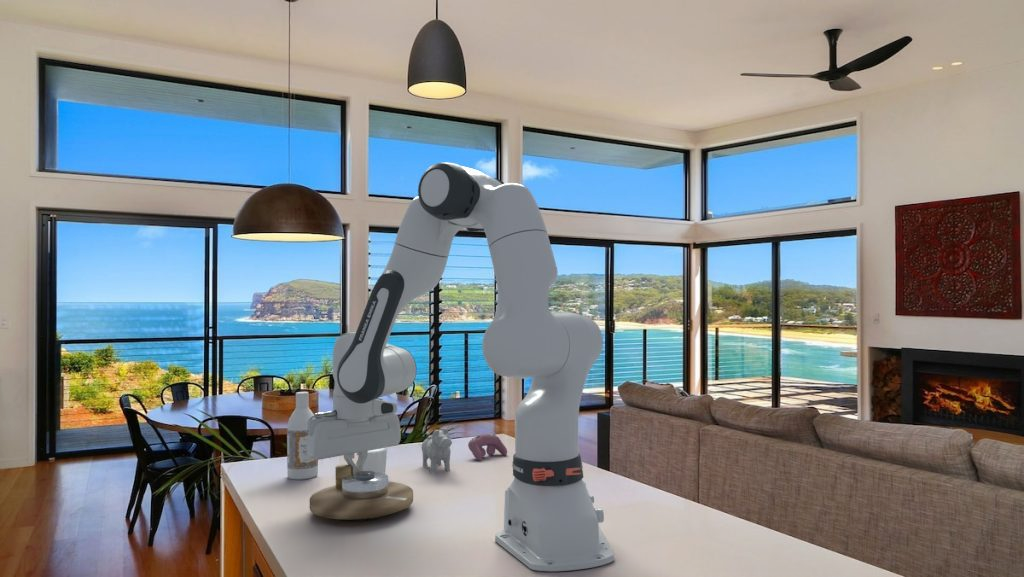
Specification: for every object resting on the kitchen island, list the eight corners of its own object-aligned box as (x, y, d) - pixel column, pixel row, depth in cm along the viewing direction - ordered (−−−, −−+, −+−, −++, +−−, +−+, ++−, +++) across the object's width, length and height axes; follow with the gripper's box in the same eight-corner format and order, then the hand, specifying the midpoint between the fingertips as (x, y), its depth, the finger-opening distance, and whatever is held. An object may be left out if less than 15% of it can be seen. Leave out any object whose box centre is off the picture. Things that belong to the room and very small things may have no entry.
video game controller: (500, 459, 180) (492, 434, 182) (509, 453, 177) (502, 428, 179) (470, 465, 174) (463, 439, 176) (480, 460, 170) (472, 433, 173)
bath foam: (292, 482, 154) (292, 395, 154) (283, 475, 159) (282, 392, 160) (322, 477, 158) (321, 392, 158) (312, 471, 164) (311, 389, 164)
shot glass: (380, 483, 152) (380, 452, 152) (352, 482, 153) (352, 451, 153) (391, 475, 159) (391, 446, 159) (365, 474, 160) (364, 445, 160)
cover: (397, 489, 135) (396, 469, 135) (370, 502, 127) (370, 481, 127) (360, 485, 139) (360, 465, 139) (332, 497, 131) (332, 476, 131)
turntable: (430, 493, 138) (430, 466, 138) (378, 524, 119) (377, 492, 119) (349, 485, 145) (348, 459, 145) (287, 513, 126) (287, 483, 126)
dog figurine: (436, 477, 156) (436, 432, 157) (419, 465, 168) (418, 423, 168) (457, 474, 159) (457, 429, 159) (438, 462, 170) (438, 420, 170)
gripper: (314, 416, 131) (315, 486, 131) (403, 403, 145) (405, 467, 145) (301, 412, 136) (302, 480, 136) (389, 400, 150) (390, 462, 149)
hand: (355, 473), depth 140 cm, fingers closed
